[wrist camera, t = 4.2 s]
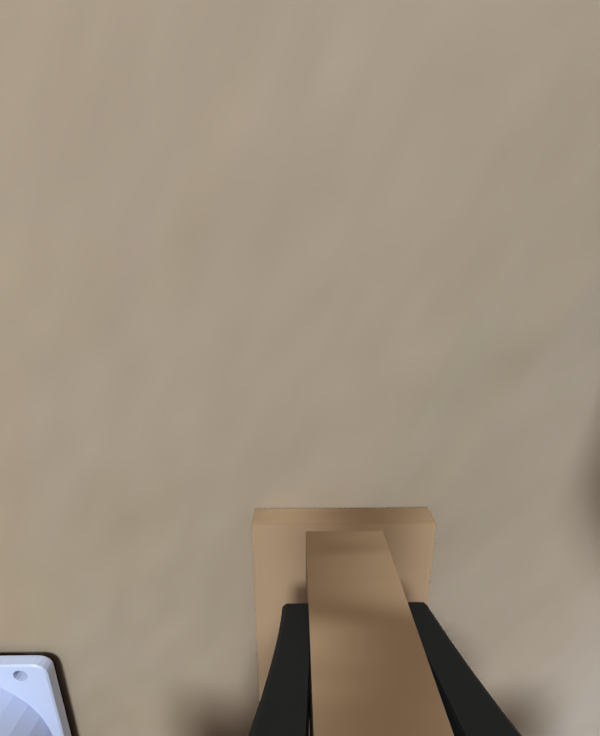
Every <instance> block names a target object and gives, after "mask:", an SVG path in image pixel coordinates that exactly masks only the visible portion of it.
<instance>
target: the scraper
mask: <svg viewBox="0 0 600 736" xmlns="http://www.w3.org/2000/svg"><path fill="white" fill-rule="evenodd" d="M436 528H437V523H436V521H435V520H434V518H433V516H432V515H431V513H430V511H429V509H428V508H299V509H255V510H254V515H253V521H252V544H253V567H254V590H255V612H256V635H257V657H258V680H259V702H260V700H261V697H262V693H263V690H264V686H265V683H266V680H267V676H268V673H269V669H270V666H271V662H272V658H273V654H274V650H275V646H276V642H277V638H278V633H279V627H280V622H281V615H282V607H283V606H284V605H285V604H287V603H308V612H309V633H310V688H309V736H454V734H453V731H452V728H451V725H450V722H449V720H448V717H447V714H446V711H445V708H444V705H443V702H442V700H441V697H440V694H439V691H438V688H437V685H436V682H435V679H434V677H433V674H432V671H431V668H430V665H429V662H428V659H427V657H426V654H425V651H424V648H423V645H422V642H421V639H420V636H419V634H418V631H417V628H416V625H415V622H414V619H413V616H412V614H411V611H410V608H409V605H408V602H424V603H425V604H426V605H427V601H428V593H429V585H430V577H431V569H432V560H433V552H434V544H435V536H436Z"/></svg>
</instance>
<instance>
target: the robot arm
mask: <svg viewBox="0 0 600 736" xmlns="http://www.w3.org/2000/svg"><path fill="white" fill-rule="evenodd" d="M408 605H409V608H410V611H411V614H412V616H413V619H414V622H415V625H416V628H417V631H418V634H419V636H420V639H421V642H422V645H423V648H424V651H425V654H426V657H427V659H428V662H429V665H430V668H431V671H432V674H433V677H434V679H435V682H436V685H437V688H438V691H439V694H440V697H441V700H442V702H443V705H444V708H445V711H446V714H447V717H448V720H449V722H450V725H451V728H452V731H453V734H454V736H521V735H520V733H519V732H518V731H517V730H516V728H515V727H514V726H513V725H512V723H511V722H510V721H509V719H508V718H507V717H506V716H505V714H504V713H503V712H502V710H501V709H500V708H499V706H498V705H497V704H496V702H495V701H494V700H493V698H492V697H491V696H490V694H489V693H488V692H487V690H486V689H485V688H484V686H483V685H482V684H481V682H480V681H479V680H478V678H477V677H476V676H475V674H474V673H473V672H472V670H471V669H470V667H469V666H468V665H467V663H466V662H465V660H464V659H463V658H462V656H461V655H460V653H459V652H458V650H457V649H456V648H455V646H454V645H453V643H452V642H451V640H450V639H449V638H448V636H447V635H446V633H445V632H444V630H443V629H442V627H441V626H440V624H439V623H438V621H437V620H436V618H435V617H434V615H433V614H432V612H431V611H430V609H429V608H428V606H427V605H426V604H425V603H424V602H408ZM309 688H310V633H309V612H308V603H287V604H285V605H284V606H283V607H282V615H281V622H280V627H279V633H278V638H277V642H276V646H275V650H274V654H273V658H272V662H271V666H270V669H269V673H268V676H267V680H266V683H265V686H264V690H263V693H262V697H261V700H260V703H259V706H258V709H257V712H256V715H255V718H254V721H253V724H252V727H251V730H250V733H249V736H309ZM0 736H71V732H70V728H69V724H68V720H67V716H66V712H65V708H64V704H63V700H62V696H61V692H60V688H59V684H58V680H57V676H56V672H55V668H54V664H53V662H52V660H51V659H50V658H48V657H46V656H43V655H0Z"/></svg>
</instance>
